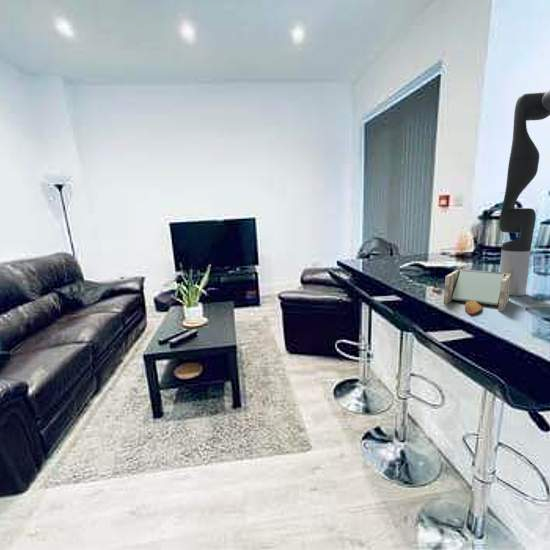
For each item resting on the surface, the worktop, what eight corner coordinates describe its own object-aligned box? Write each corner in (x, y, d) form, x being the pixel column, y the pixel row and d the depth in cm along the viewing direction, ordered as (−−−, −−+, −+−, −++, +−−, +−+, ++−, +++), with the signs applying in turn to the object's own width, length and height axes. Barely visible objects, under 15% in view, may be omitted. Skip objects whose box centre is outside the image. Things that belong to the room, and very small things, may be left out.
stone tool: (483, 299, 116) (482, 312, 104) (483, 305, 116) (481, 319, 104) (466, 297, 119) (463, 310, 106) (466, 303, 119) (462, 317, 107)
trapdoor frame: (454, 294, 134) (456, 269, 132) (508, 300, 123) (511, 273, 121) (443, 303, 121) (445, 276, 119) (502, 311, 110) (505, 281, 108)
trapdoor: (461, 270, 130) (460, 268, 129) (504, 274, 121) (504, 272, 120) (452, 299, 123) (452, 297, 122) (497, 305, 114) (497, 303, 113)
